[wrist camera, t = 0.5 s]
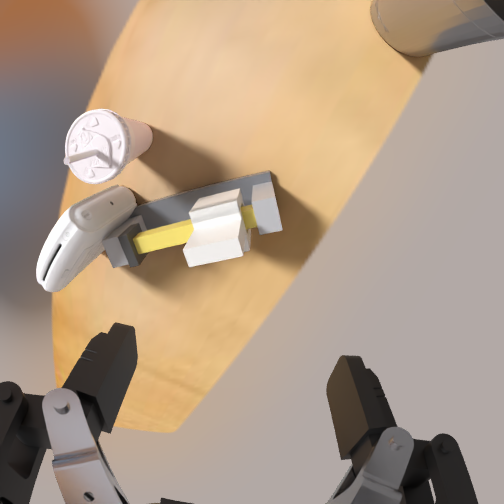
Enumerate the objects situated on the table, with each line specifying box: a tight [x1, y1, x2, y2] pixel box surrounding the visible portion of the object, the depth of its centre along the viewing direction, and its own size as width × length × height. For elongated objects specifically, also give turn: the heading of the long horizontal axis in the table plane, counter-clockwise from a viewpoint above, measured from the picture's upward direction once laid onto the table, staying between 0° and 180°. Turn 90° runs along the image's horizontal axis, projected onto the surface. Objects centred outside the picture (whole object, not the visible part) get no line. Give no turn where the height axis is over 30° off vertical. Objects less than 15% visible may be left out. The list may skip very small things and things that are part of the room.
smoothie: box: [64, 109, 153, 184], centre depth 22 cm, size 6×6×14 cm
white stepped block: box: [183, 188, 251, 267], centre depth 24 cm, size 4×4×8 cm
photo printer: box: [37, 185, 137, 292], centre depth 27 cm, size 10×4×12 cm, turn 134°
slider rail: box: [102, 171, 282, 268], centre depth 28 cm, size 17×5×8 cm, turn 104°
